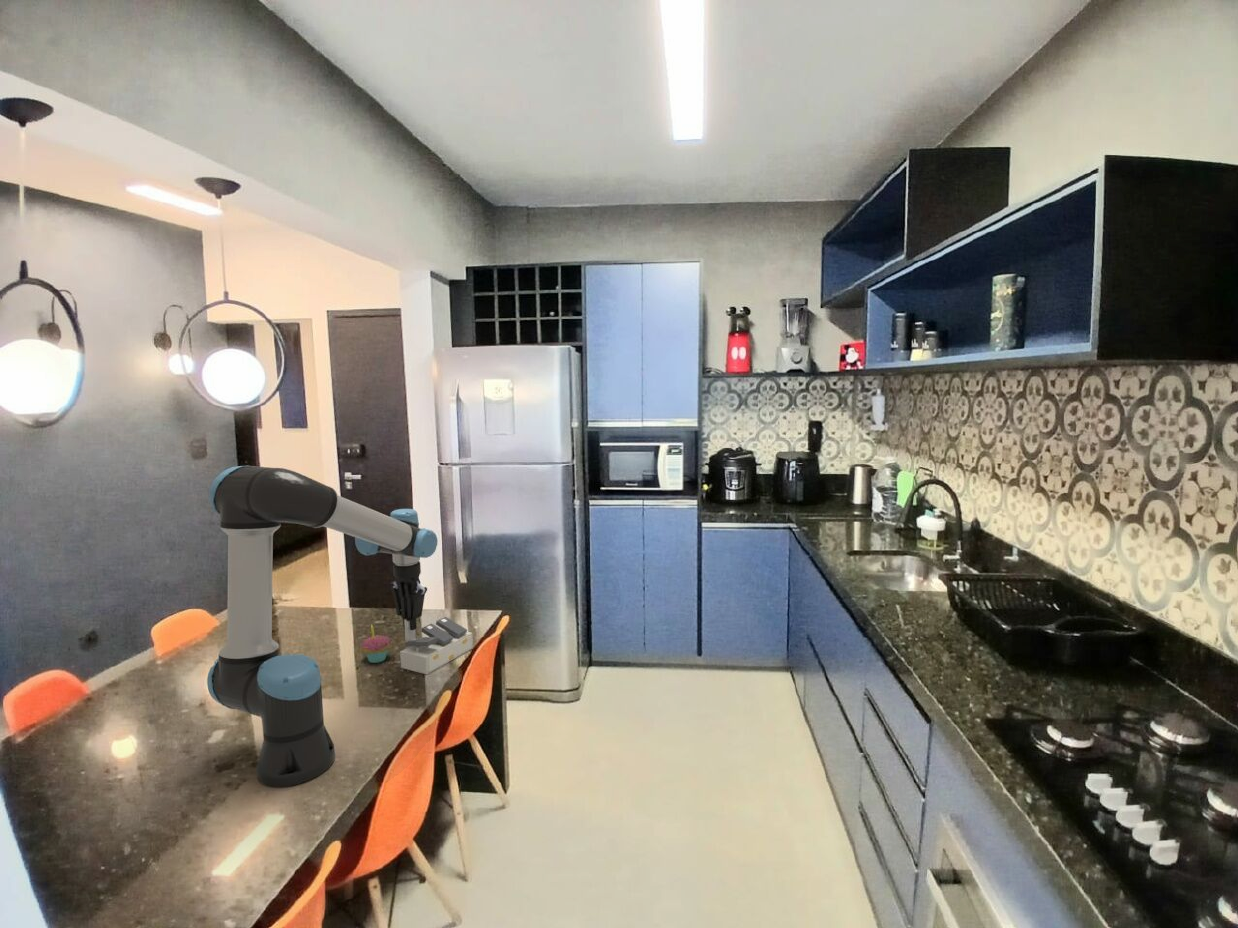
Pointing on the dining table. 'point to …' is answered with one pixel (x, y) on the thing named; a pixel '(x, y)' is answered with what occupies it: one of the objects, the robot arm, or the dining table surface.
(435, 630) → the block
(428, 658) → the switch unit
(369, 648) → the cupcake
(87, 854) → the dining table surface
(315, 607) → the dining table surface
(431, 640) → the rocker
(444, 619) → the rocker
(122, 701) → the dining table surface
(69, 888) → the dining table surface
